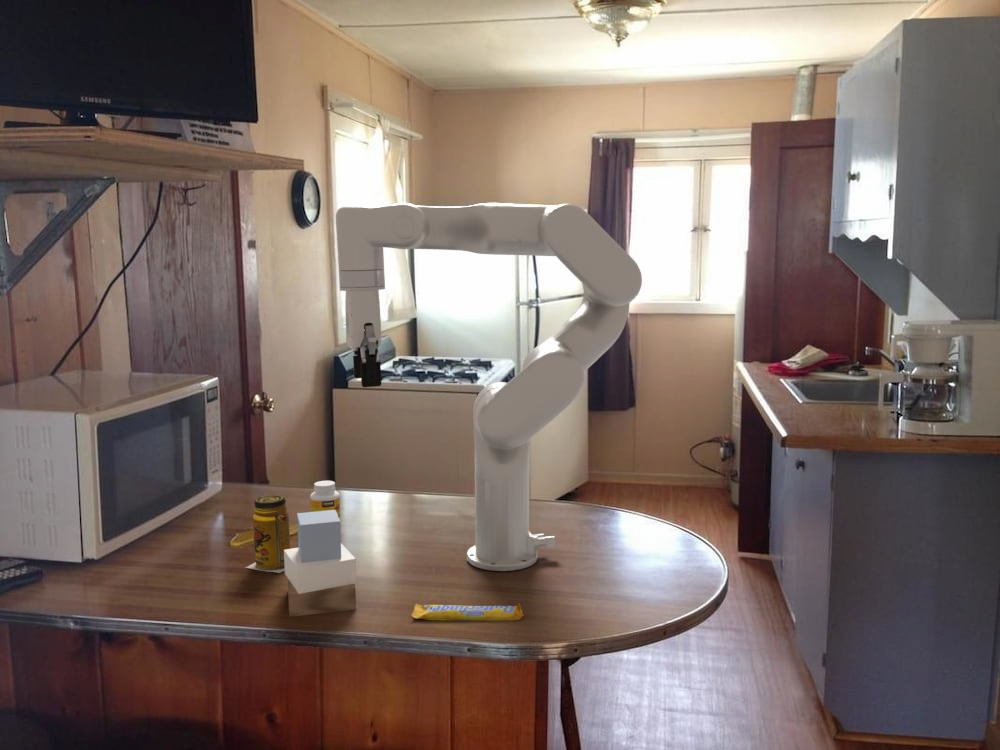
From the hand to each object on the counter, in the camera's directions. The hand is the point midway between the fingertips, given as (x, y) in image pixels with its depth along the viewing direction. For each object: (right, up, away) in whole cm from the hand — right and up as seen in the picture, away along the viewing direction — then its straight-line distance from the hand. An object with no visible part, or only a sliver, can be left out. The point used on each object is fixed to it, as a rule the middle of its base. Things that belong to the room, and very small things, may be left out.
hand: (367, 381), depth 146 cm
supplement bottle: (-11, -30, +20) cm, 38 cm away
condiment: (-17, -32, +5) cm, 37 cm away
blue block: (-6, -27, -11) cm, 30 cm away
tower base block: (-6, -35, -10) cm, 37 cm away
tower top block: (-6, -31, -11) cm, 33 cm away
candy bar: (+18, -36, -16) cm, 43 cm away
